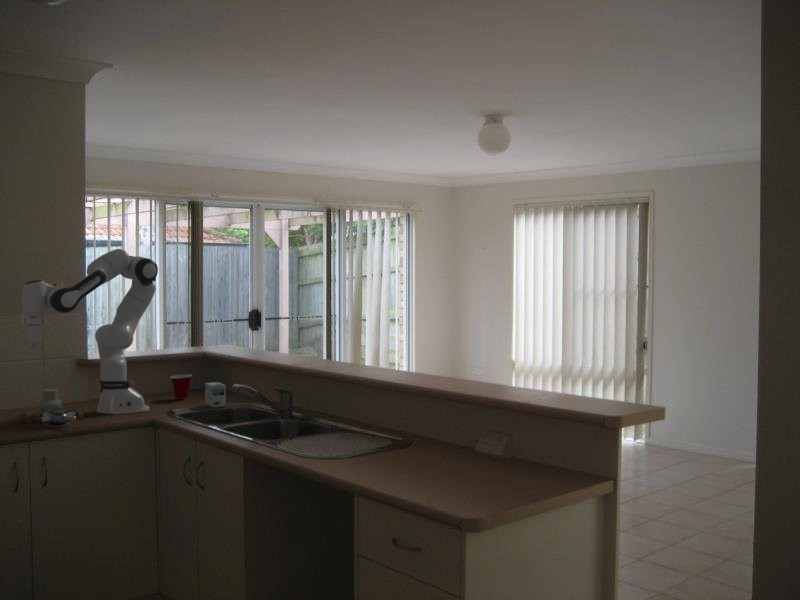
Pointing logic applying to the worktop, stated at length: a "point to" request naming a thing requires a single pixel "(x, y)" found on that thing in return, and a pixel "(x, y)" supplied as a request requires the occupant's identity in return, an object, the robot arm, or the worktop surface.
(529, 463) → the worktop surface
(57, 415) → the capstan
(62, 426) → the pedestal
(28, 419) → the level stand
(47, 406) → the air freshener
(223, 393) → the light bulb box
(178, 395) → the plastic cup
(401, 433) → the worktop surface
